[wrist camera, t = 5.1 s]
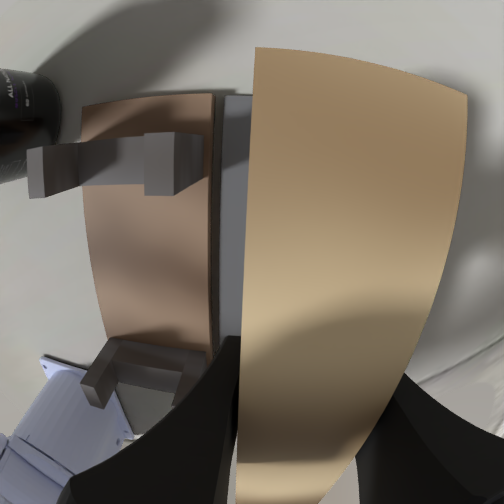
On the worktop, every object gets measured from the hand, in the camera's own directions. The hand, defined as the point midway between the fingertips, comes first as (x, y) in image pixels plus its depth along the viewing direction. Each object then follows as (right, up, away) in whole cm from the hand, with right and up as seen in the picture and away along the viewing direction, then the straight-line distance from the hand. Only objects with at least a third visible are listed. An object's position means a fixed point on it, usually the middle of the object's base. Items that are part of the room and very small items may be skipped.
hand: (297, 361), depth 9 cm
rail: (0, 0, 0) cm, 0 cm away
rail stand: (-7, +3, +7) cm, 10 cm away
